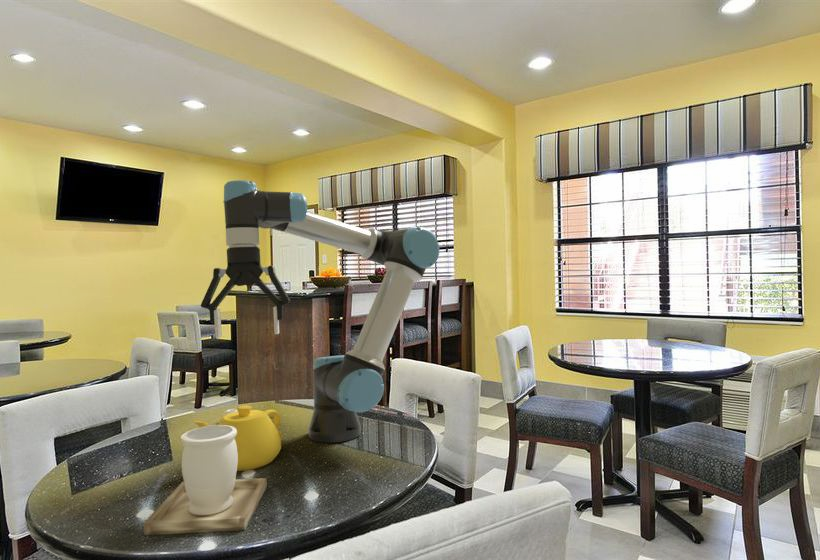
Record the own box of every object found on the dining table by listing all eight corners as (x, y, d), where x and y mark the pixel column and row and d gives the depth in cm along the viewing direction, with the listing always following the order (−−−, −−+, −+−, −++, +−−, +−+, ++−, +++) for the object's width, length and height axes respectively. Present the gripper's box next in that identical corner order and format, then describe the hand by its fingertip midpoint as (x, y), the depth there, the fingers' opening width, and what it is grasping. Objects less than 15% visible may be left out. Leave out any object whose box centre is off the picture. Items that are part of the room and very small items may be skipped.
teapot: (214, 487, 110) (213, 426, 110) (175, 469, 121) (174, 413, 121) (303, 453, 129) (302, 402, 129) (262, 440, 140) (261, 393, 140)
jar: (219, 521, 93) (217, 442, 93) (170, 517, 95) (169, 439, 95) (248, 496, 103) (247, 425, 103) (204, 492, 105) (202, 423, 105)
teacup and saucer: (252, 419, 163) (252, 407, 163) (238, 427, 155) (238, 414, 155) (228, 418, 165) (228, 406, 165) (214, 425, 157) (213, 412, 157)
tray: (266, 487, 109) (266, 478, 109) (244, 530, 91) (244, 518, 91) (182, 491, 108) (182, 481, 108) (143, 535, 90) (143, 523, 90)
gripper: (298, 245, 123) (302, 330, 123) (193, 249, 120) (198, 336, 121) (294, 244, 115) (299, 334, 116) (183, 248, 112) (188, 340, 113)
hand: (248, 335), depth 118 cm, fingers open, 13 cm apart
